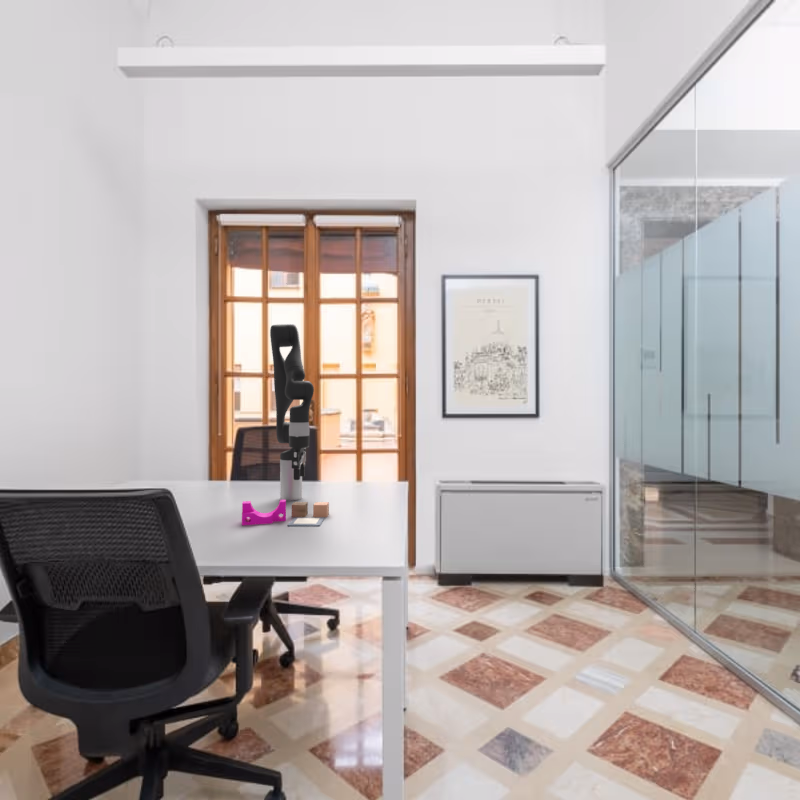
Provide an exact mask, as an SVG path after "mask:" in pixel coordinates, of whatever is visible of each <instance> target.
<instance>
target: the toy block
mask: <svg viewBox="0 0 800 800" xmlns="http://www.w3.org/2000/svg"><path fill="white" fill-rule="evenodd" d="M278 502H279V503H278V505H277V506H276V507H275V509H274V510H271V511H269V512H260V511H259V510H257V509H255V507H253V505H252V502H251V500H247V501H244V500H243V501H242V503H241V505H242V507H241V510H242V511H241V525H242V526H252V525H268V524H269V525H270V524H273V523H275V522H286V521H287V501H286V500H281V499H279V501H278ZM280 515H282V516H280Z"/></svg>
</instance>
